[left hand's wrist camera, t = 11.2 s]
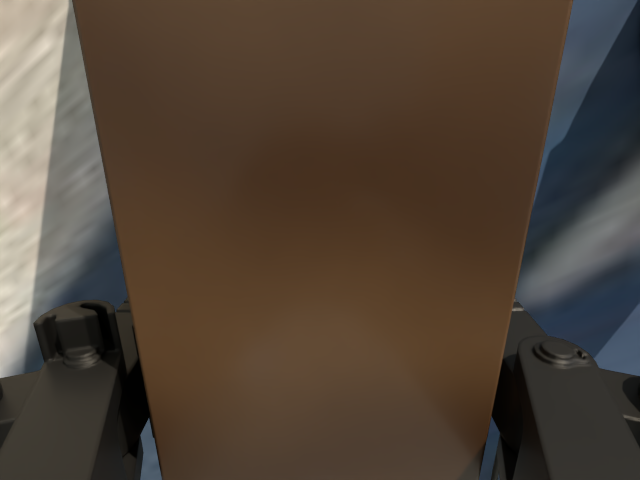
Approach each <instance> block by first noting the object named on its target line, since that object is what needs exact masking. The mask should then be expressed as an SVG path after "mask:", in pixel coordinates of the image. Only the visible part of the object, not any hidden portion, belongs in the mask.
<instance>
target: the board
mask: <svg viewBox="0 0 640 480" xmlns="http://www.w3.org/2000/svg"><path fill="white" fill-rule="evenodd" d="M72 2H73V7H74V12H75V18H76V23H77V28H78V34H79V39H80V44H81V50H82V55H83V60H84V66H85V71H86V76H87V82H88V87H89V92H90V98H91V103H92V108H93V114H94V119H95V124H96V130H97V135H98V140H99V146H100V151H101V156H102V162H103V167H104V172H105V178H106V183H107V188H108V194H109V199H110V204H111V210H112V215H113V220H114V226H115V231H116V236H117V242H118V247H119V252H120V258H121V263H122V268H123V274H124V279H125V284H126V290H127V295H128V300H129V306H130V311H131V316H132V322H133V327H134V332H135V338H136V343H137V348H138V353H139V359H140V364H141V369H142V375H143V380H144V385H145V391H146V396H147V401H148V407H149V412H150V417H151V423H152V428H153V433H154V439H155V444H156V449H157V455H158V460H159V465H160V471H161V476H162V480H479V475H480V470H481V465H482V460H483V455H484V450H485V445H486V440H487V435H488V430H489V425H490V420H491V415H492V409H493V404H494V399H495V394H496V389H497V384H498V379H499V374H500V369H501V364H502V359H503V354H504V349H505V344H506V338H507V333H508V328H509V323H510V318H511V313H512V308H513V303H514V298H515V293H516V288H517V283H518V278H519V272H520V267H521V262H522V257H523V252H524V247H525V242H526V237H527V232H528V227H529V222H530V217H531V212H532V207H533V201H534V196H535V191H536V186H537V181H538V176H539V171H540V166H541V161H542V156H543V151H544V146H545V141H546V136H547V130H548V125H549V120H550V115H551V110H552V105H553V100H554V95H555V90H556V85H557V80H558V75H559V70H560V64H561V59H562V54H563V49H564V44H565V39H566V34H567V29H568V24H569V19H570V14H571V9H572V4H573V0H72Z"/></svg>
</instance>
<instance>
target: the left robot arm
mask: <svg viewBox="0 0 640 480" xmlns="http://www.w3.org/2000/svg"><path fill="white" fill-rule="evenodd" d="M33 324H34V328H35V331H36V334H37V338H38V341H39V345H40V348H41V352H42V355H43V359H44V364H43V366H42V368H41V370H39V371H35V372H30V373H25V374H20V375H15V376H10V377H5V378H0V480H140V476H141V468H142V460H143V447H142V441H141V436H140V434H141V432H142V430H143V428H144V426H145V424H146V422H147V420H148V418H149V419H150V424H151V429H152V435H153V438H154V433H153V428H152V423H151V417H150V412H149V407H148V401H147V396H146V391H145V385H144V380H143V375H142V369H141V364H140V359H139V353H138V348H137V343H136V338H135V332H134V327H133V322H132V316H131V311H130V306H129V300H128V297H127V299H126V300H125V301H124V303H122V304H121V306H120V307H119V308H118V309H117V312H115V309H114V306H113V305H111V304H110V303H109V302H106V301H100V300H83V301H78V302H73V303H68V304H65V305H62V306H60V307H57V308H54V309H52V310H50V311H49V312H47V313H45V314H43V315H41V316H40V317H39V318H38V319H37V320H36V321H35V322H34V323H33ZM491 416H492V418H493V420H494V422H495V424H496V426H497V428H498V430H499V432H500V436H499V441H498V446H497V451H496V456H495V461H494V466H493V471H492V477H491V480H497V479H498V474H499V475H500V480H640V376H635V375H630V374H625V373H620V372H614V371H609V370H605V369H601V368H599V367H598V365H597V363H596V361H595V360H594V359H593V358H592V357H591V355H590V354H589V353H588V352H586V351H585V350H583V349H582V348H580V347H579V346H577V345H575V344H573V343H571V342H568V341H566V340H563V339H559V338H555V337H551V336H547V334H546V333H545V332H544V331H543V330H542V329H541V328H540V326H539V325H538V324H537V323H536V322H535V321H534V319H533V318H532V317H531V316H530V315H529V314H528V313H527V311H524V308H523V307H522V306H521V305H520V303H519V302H516V299H515V298H514V303H513V308H512V313H511V318H510V323H509V328H508V333H507V338H506V344H505V349H504V354H503V359H502V364H501V369H500V374H499V379H498V384H497V389H496V394H495V399H494V404H493V409H492V415H491ZM489 426H490V425H489ZM488 431H489V430H488ZM487 436H488V435H487Z"/></svg>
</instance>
